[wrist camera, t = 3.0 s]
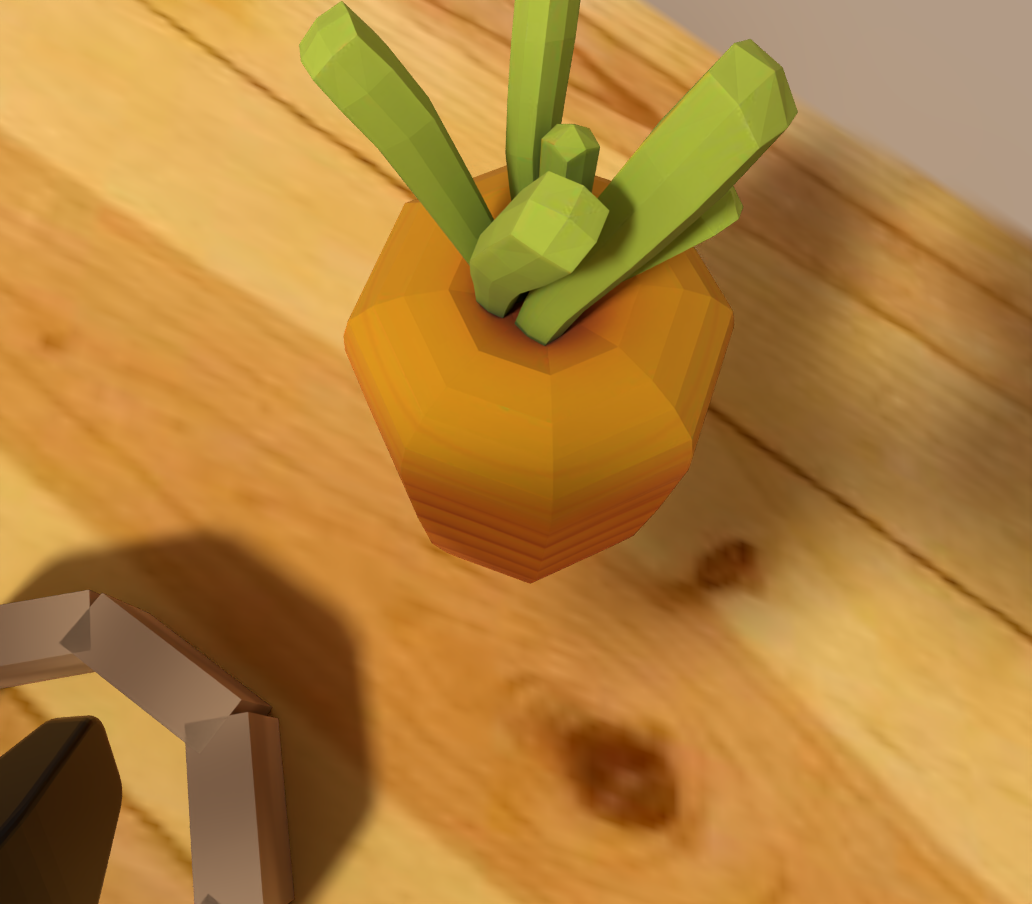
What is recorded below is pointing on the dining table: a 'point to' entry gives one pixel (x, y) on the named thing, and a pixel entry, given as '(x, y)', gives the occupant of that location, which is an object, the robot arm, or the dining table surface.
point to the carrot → (544, 294)
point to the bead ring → (175, 730)
